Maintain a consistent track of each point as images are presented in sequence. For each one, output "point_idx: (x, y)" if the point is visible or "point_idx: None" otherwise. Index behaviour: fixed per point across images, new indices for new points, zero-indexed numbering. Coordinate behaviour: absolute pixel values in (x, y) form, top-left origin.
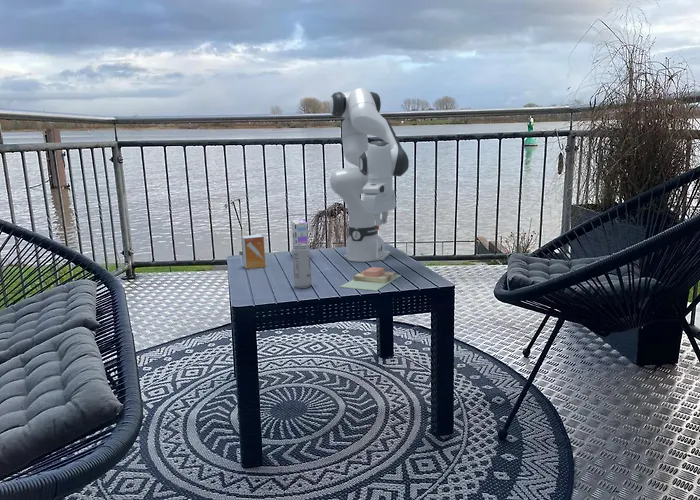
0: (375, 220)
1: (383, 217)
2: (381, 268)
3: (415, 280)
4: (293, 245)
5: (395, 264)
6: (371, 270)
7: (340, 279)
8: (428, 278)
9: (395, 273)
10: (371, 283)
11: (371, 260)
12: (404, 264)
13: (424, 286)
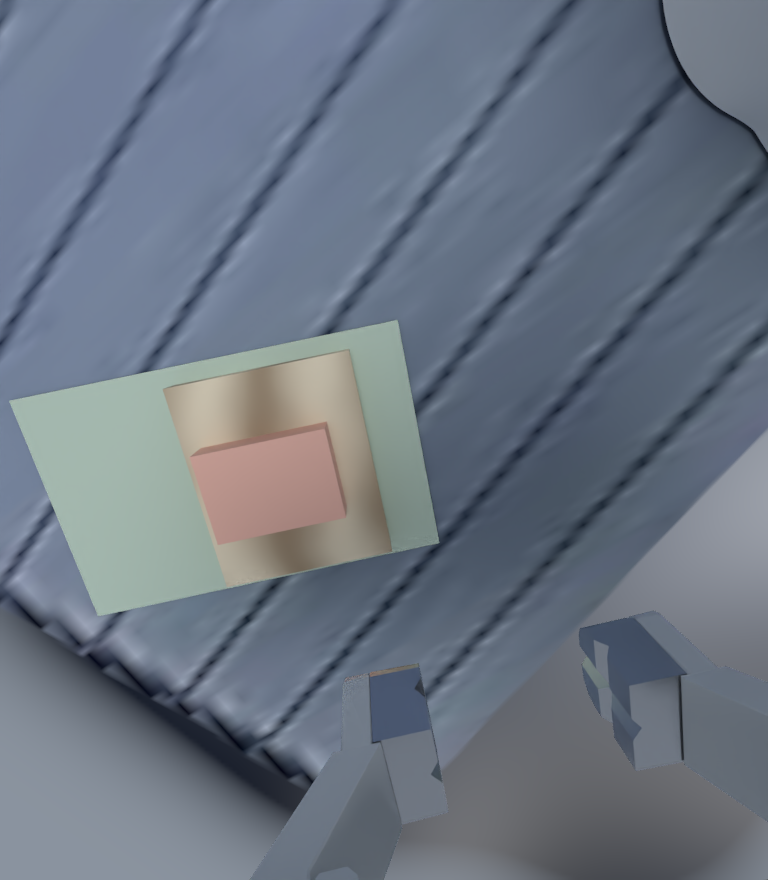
0: (332, 760)
1: (714, 726)
2: (321, 511)
3: (391, 649)
4: None
5: (688, 338)
6: (238, 489)
7: (160, 268)
8: (458, 677)
9: (390, 548)
10: (187, 516)
11: (723, 107)
12: (708, 392)
13: (316, 736)
